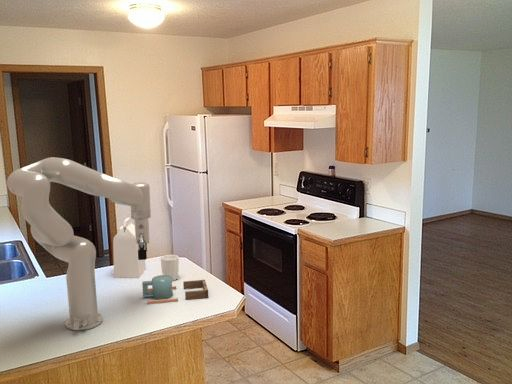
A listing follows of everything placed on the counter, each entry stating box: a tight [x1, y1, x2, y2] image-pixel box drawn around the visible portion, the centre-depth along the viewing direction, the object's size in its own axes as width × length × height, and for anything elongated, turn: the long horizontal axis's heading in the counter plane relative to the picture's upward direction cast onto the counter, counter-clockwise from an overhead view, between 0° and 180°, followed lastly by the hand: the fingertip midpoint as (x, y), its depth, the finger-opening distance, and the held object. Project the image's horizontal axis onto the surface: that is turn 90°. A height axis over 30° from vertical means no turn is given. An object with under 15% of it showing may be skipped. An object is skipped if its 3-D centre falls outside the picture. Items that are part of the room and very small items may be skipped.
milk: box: [112, 217, 147, 279], centre depth 214 cm, size 12×12×26 cm
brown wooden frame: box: [182, 279, 209, 301], centre depth 194 cm, size 12×9×3 cm
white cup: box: [160, 254, 180, 282], centre depth 209 cm, size 8×8×10 cm
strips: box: [146, 285, 179, 305], centre depth 191 cm, size 14×12×1 cm
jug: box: [142, 274, 174, 300], centre depth 190 cm, size 8×12×8 cm
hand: (142, 255), depth 186 cm, fingers open, 9 cm apart
